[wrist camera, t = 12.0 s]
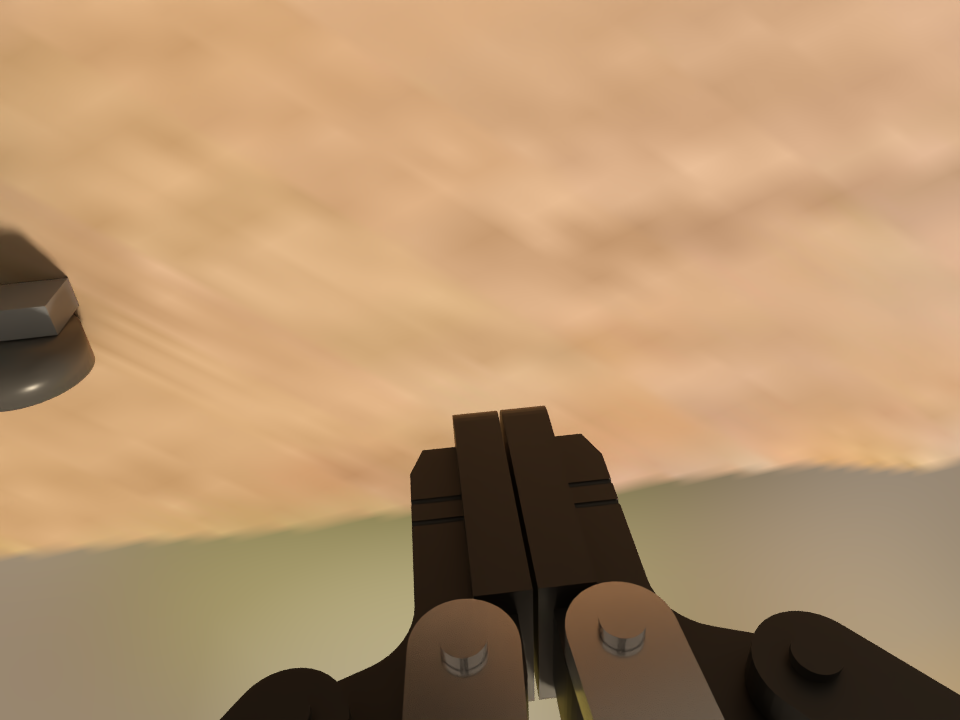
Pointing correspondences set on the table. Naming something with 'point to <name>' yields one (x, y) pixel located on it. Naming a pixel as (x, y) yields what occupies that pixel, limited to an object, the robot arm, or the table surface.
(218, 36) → the table surface
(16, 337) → the chassis bay
